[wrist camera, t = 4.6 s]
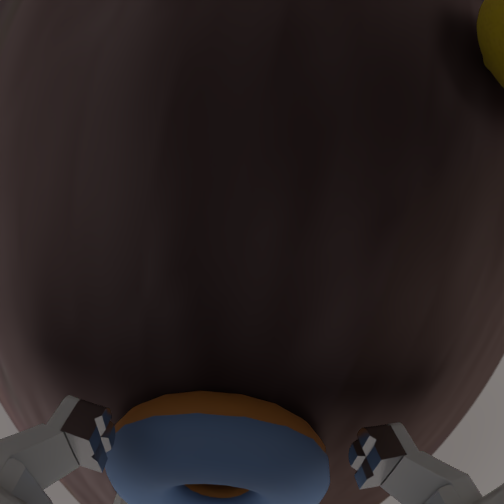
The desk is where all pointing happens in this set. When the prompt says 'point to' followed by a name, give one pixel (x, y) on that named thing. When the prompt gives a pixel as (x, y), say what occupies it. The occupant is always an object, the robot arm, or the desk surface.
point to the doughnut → (216, 452)
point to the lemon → (492, 37)
